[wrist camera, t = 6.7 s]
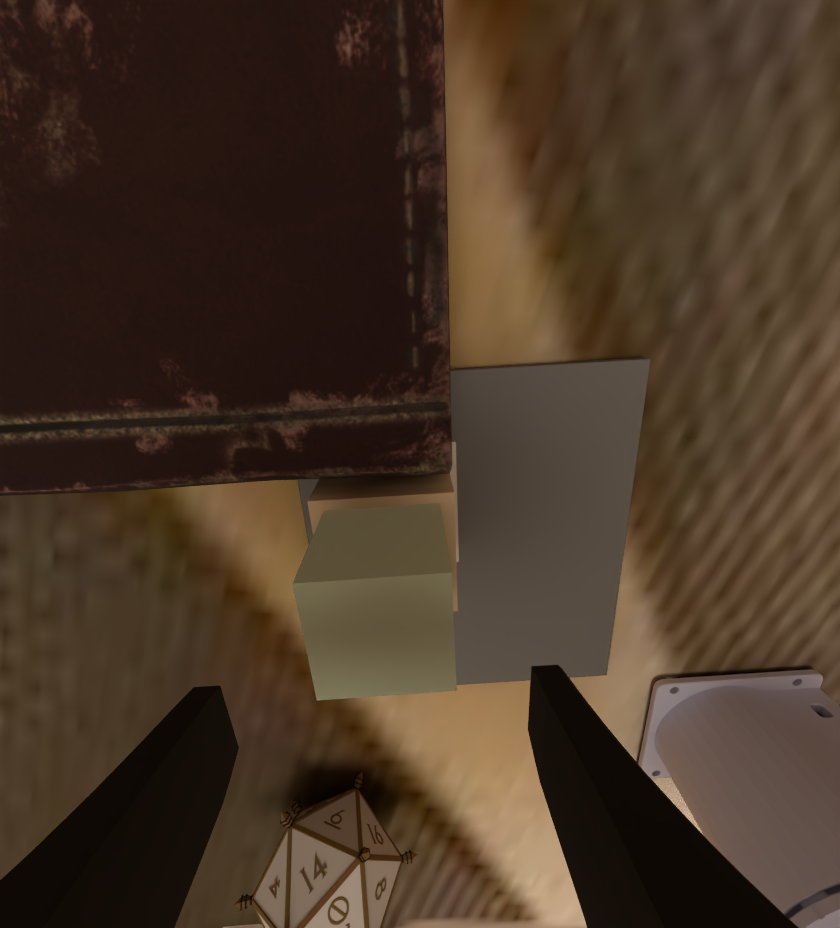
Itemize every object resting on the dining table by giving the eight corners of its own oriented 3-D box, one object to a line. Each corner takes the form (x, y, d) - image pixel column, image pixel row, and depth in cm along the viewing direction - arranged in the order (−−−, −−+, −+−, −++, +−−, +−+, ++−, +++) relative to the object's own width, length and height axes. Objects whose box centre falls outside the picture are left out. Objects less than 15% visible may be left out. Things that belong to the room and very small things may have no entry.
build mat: (642, 357, 17) (651, 359, 16) (601, 666, 23) (607, 676, 22) (284, 379, 17) (279, 381, 16) (336, 683, 23) (334, 694, 22)
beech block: (444, 453, 18) (454, 492, 14) (448, 553, 19) (457, 611, 16) (328, 460, 18) (307, 501, 14) (342, 560, 19) (327, 619, 16)
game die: (325, 731, 30) (223, 813, 20) (437, 772, 27) (381, 888, 18) (297, 872, 28) (174, 1031, 19) (414, 930, 25) (338, 1150, 16)
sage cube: (440, 502, 14) (451, 572, 10) (444, 598, 15) (456, 690, 12) (323, 510, 14) (292, 584, 10) (338, 605, 15) (316, 700, 12)
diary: (442, 449, 18) (454, 495, 13) (-137, 480, 18) (-338, 537, 13) (423, -171, 12) (433, -506, 7) (-463, -137, 12) (-1078, -461, 7)
